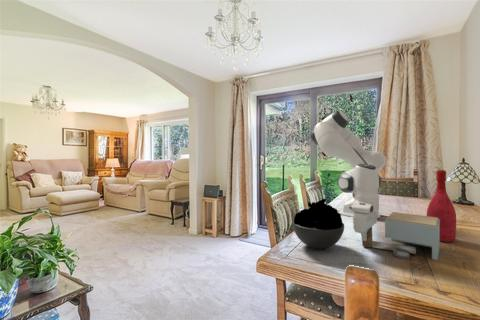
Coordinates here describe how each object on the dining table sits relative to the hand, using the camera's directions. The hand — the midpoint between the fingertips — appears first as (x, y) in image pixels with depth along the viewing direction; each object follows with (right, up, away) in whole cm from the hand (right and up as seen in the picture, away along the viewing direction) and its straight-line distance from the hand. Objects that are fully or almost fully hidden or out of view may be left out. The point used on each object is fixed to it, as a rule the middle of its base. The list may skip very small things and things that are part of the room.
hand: (366, 238), depth 97 cm
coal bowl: (-20, -4, +1) cm, 20 cm away
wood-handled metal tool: (+6, -3, -4) cm, 8 cm away
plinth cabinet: (+17, -3, -2) cm, 17 cm away
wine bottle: (+36, -3, +7) cm, 37 cm away
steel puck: (+8, -4, -9) cm, 13 cm away
